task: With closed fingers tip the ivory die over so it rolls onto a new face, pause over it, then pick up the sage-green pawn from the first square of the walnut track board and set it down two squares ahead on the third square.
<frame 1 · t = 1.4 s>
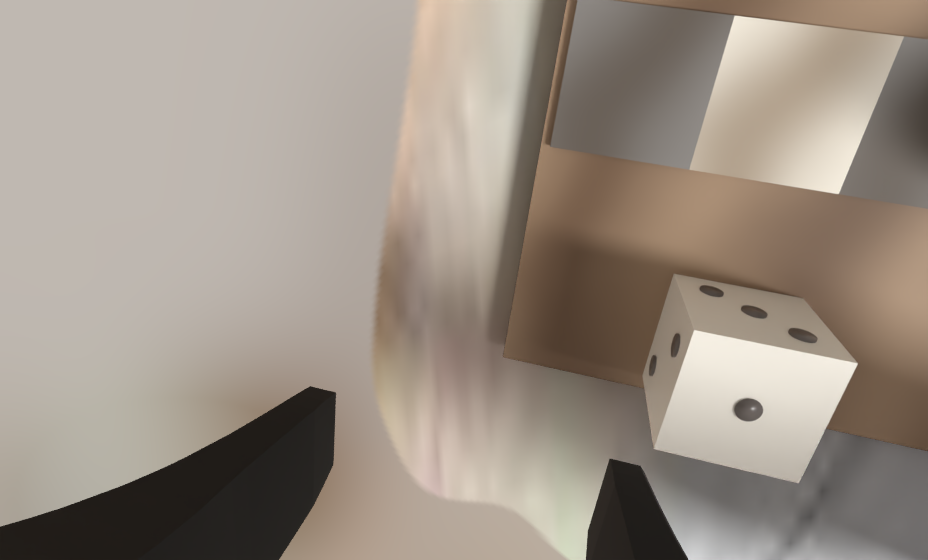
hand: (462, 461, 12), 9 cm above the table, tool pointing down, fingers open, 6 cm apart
die: (717, 339, 19), point 1 cm above the table, touching board
board: (872, 190, 17), on the table
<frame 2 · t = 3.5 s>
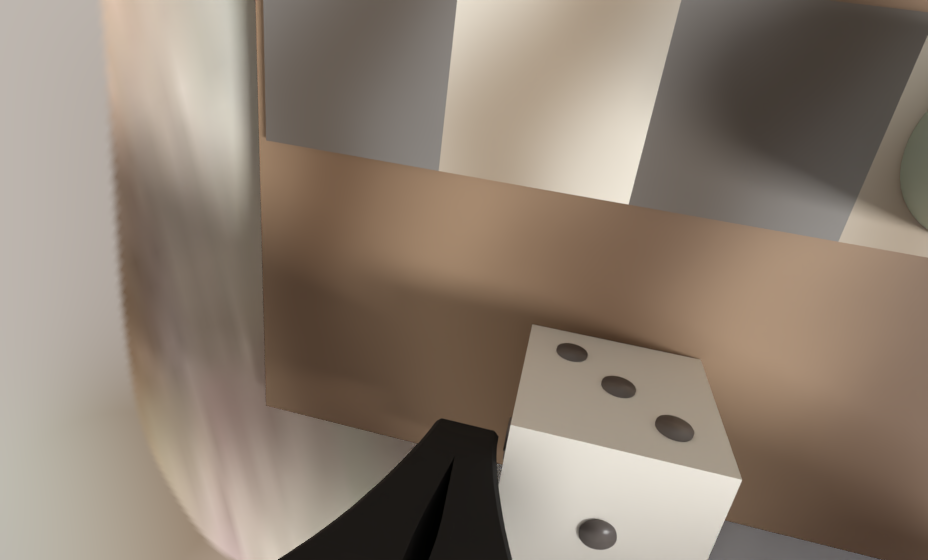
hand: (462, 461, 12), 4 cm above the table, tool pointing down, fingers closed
die: (596, 408, 14), point 1 cm above the table, touching gripper
board: (685, 199, 12), on the table
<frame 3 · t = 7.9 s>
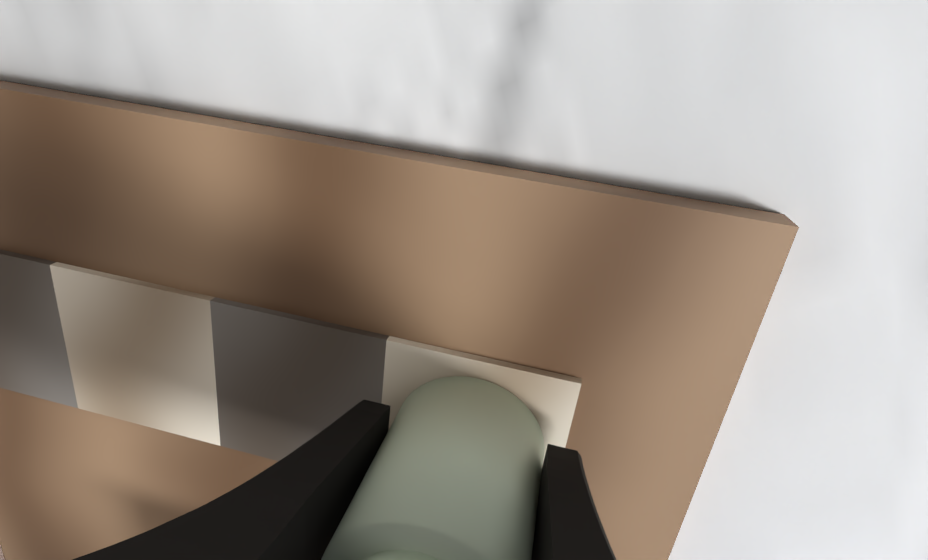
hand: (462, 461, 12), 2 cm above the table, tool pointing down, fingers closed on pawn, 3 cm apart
pawn: (468, 440, 12), point 1 cm above the table, touching board, gripper
board: (286, 430, 15), on the table
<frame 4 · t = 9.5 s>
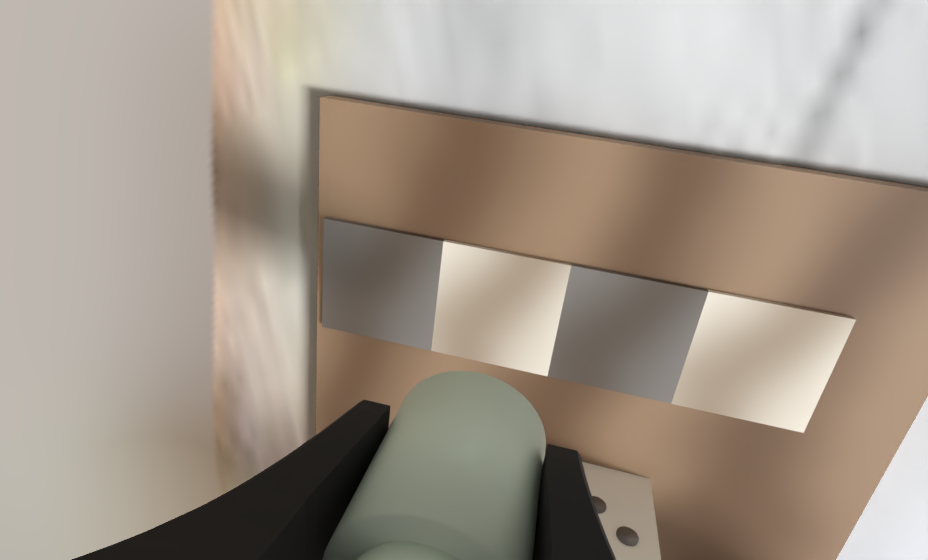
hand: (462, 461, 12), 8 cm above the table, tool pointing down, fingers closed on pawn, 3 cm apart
pawn: (470, 435, 12), point 8 cm above the table, touching gripper
die: (583, 504, 21), point 1 cm above the table, touching board
board: (585, 367, 20), on the table
when the fingers open (3 cm above the table, at t = 11.0 s): pawn stays where it is, resting on board.
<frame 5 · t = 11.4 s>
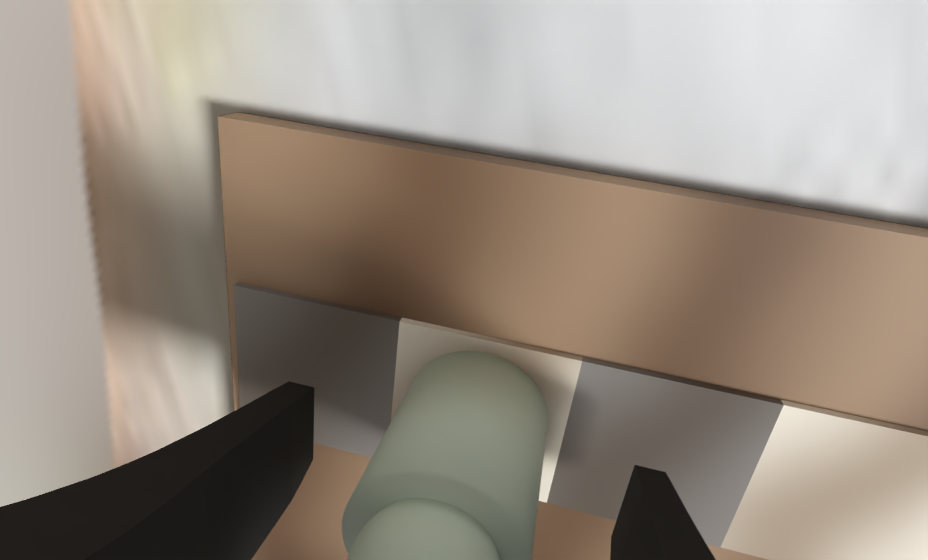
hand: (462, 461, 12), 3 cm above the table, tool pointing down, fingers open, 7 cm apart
pawn: (476, 413, 13), point 1 cm above the table, touching board
board: (599, 484, 14), on the table
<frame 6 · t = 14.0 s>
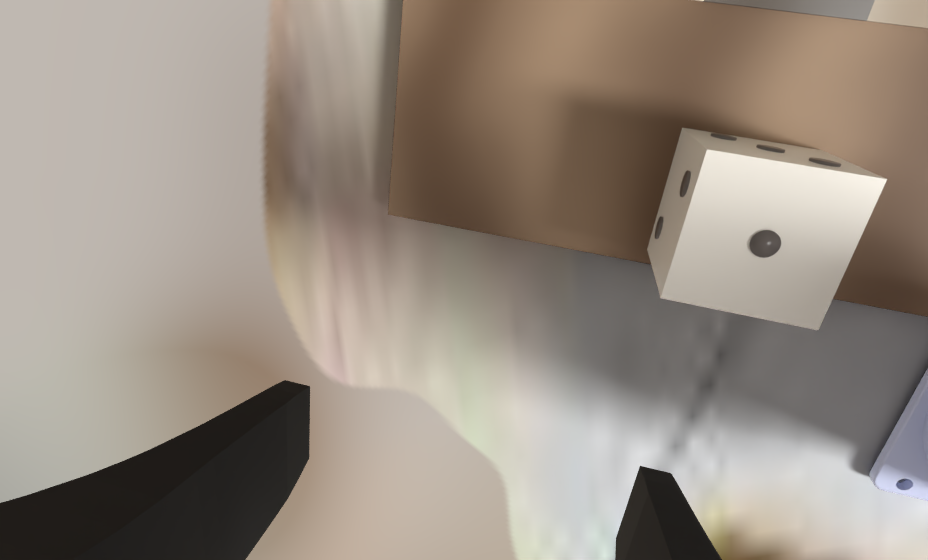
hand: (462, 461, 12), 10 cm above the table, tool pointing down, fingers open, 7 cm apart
die: (728, 202, 17), point 1 cm above the table, touching board
board: (744, 5, 16), on the table
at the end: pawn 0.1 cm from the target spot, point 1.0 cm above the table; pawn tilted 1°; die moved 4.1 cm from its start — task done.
